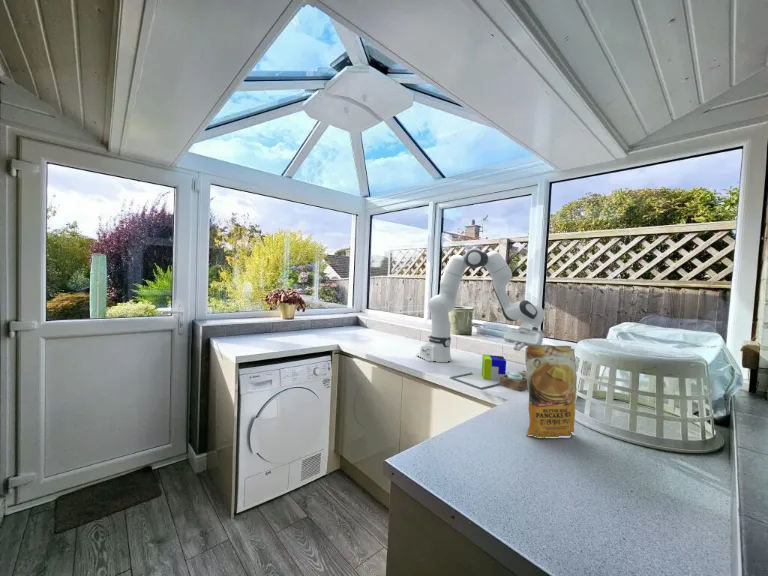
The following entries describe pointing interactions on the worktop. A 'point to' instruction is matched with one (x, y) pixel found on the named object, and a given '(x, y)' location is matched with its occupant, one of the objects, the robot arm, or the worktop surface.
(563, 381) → the pancake mix bag
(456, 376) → the frame
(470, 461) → the worktop surface
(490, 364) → the puzzle toy
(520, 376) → the dome button
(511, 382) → the brown wooden box
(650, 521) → the worktop surface
